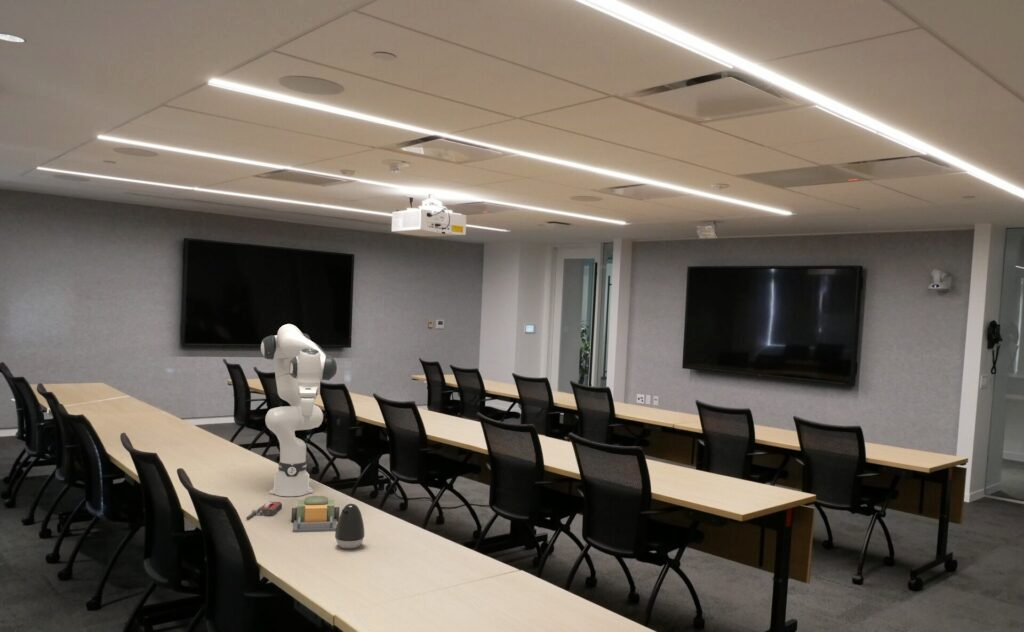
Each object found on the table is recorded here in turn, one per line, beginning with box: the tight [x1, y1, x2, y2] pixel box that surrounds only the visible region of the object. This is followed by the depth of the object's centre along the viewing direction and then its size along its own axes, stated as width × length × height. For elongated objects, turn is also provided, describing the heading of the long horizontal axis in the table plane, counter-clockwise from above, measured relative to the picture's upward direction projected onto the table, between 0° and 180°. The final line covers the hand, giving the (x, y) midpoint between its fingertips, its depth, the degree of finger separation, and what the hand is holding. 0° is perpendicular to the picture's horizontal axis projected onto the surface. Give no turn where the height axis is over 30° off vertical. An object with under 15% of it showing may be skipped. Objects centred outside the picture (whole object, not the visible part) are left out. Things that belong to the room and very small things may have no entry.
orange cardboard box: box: [305, 505, 328, 523], centre depth 275 cm, size 4×8×7 cm, turn 104°
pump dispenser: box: [334, 503, 366, 550], centre depth 255 cm, size 10×10×15 cm
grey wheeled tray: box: [290, 495, 340, 533], centre depth 279 cm, size 19×18×9 cm
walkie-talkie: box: [245, 500, 283, 520], centre depth 290 cm, size 9×4×20 cm
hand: (306, 425), depth 286 cm, fingers open, 8 cm apart
